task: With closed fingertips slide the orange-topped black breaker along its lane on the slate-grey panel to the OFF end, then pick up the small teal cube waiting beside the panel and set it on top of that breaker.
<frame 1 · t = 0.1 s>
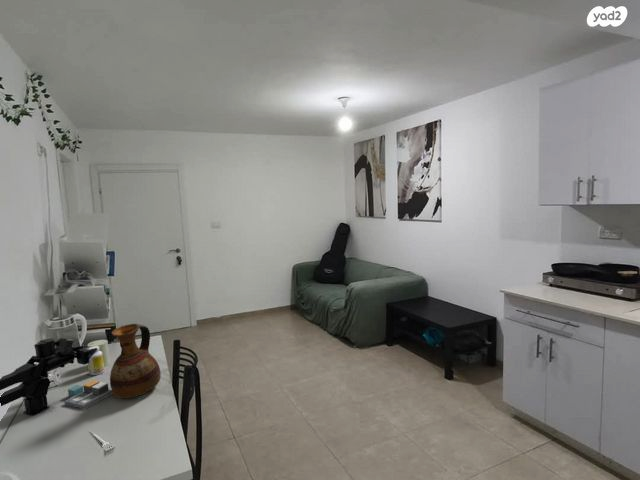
hand: (89, 347, 177), 17 cm above the table, tool horizontal, fingers open, 9 cm apart
breaker panel: (89, 398, 163), on the table
teal cube: (76, 395, 167), on the table
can: (100, 364, 200), on the table
supplement bottle: (96, 373, 189), on the table
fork: (100, 442, 133), on the table
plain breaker: (100, 388, 164), point 3 cm above the table, slide at 0.0 cm
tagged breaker: (91, 387, 166), point 4 cm above the table, slide at 0.0 cm
ceramic pitcher: (137, 390, 169), on the table
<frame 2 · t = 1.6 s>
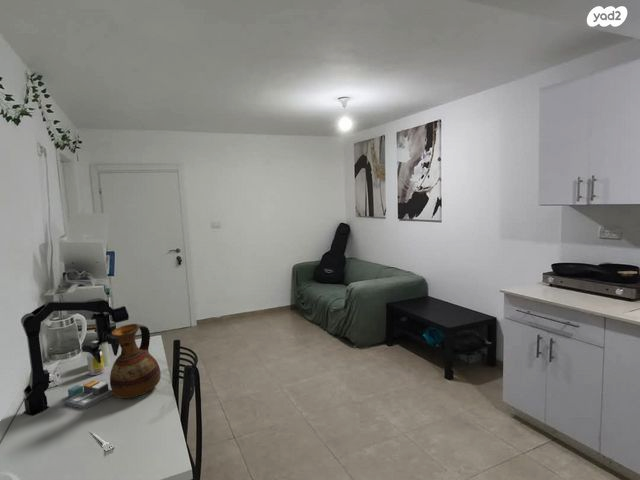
hand: (107, 359, 174), 12 cm above the table, tool pointing down, fingers open, 8 cm apart
nothing on the table moved.
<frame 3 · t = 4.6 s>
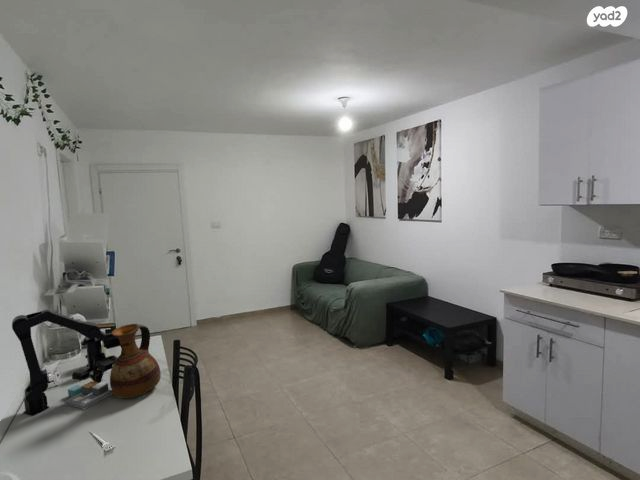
hand: (98, 385, 170), 2 cm above the table, tool pointing down, fingers closed
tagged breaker: (90, 387, 166), point 4 cm above the table, slide at 0.8 cm, touching gripper
everything else where it was.
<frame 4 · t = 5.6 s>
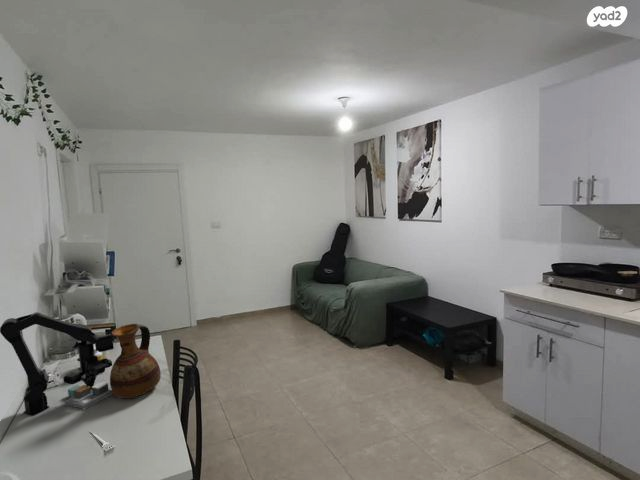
hand: (91, 389, 166), 3 cm above the table, tool pointing down, fingers closed
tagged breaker: (82, 391, 163), point 3 cm above the table, slide at 4.3 cm, touching gripper
everything else where it was.
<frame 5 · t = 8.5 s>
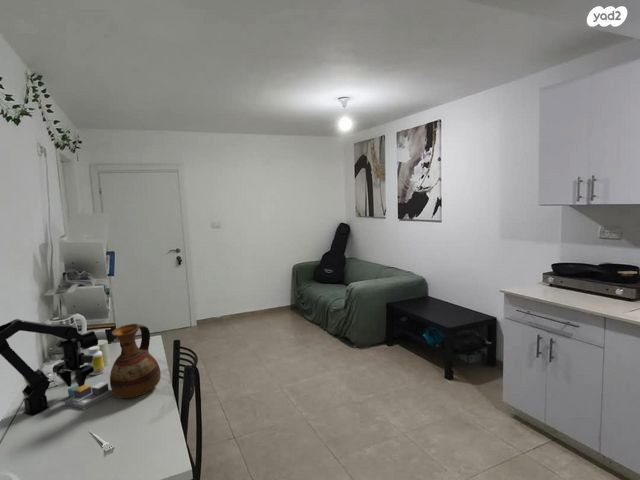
hand: (75, 387, 167), 3 cm above the table, tool pointing down, fingers open, 7 cm apart
nothing on the table moved.
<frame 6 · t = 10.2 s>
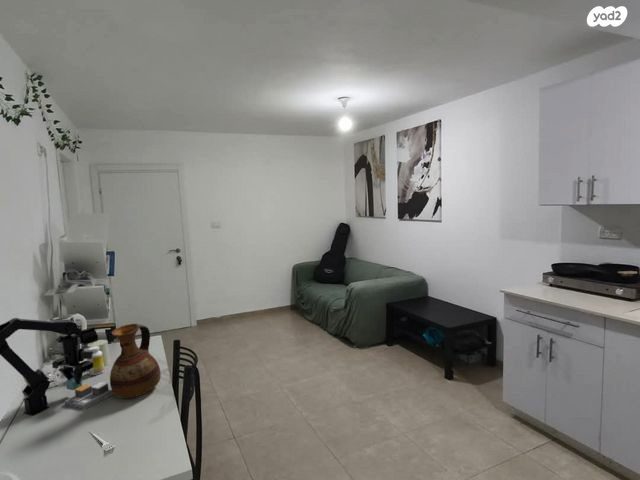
hand: (75, 383, 167), 5 cm above the table, tool pointing down, fingers closed on teal cube, 4 cm apart
teal cube: (74, 387, 166), point 4 cm above the table, touching gripper
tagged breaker: (83, 391, 163), point 3 cm above the table, slide at 3.8 cm
everything else where it was.
when the fingers open (7 cm above the table, at t = 12.0 s): teal cube stays where it is, resting on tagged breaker.
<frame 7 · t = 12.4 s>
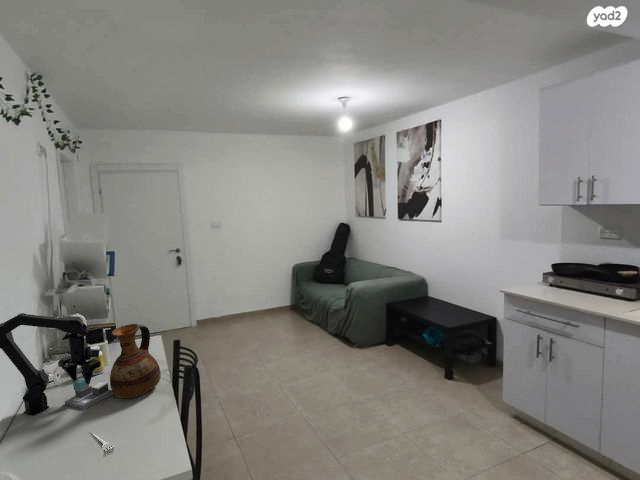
hand: (81, 382, 162), 7 cm above the table, tool pointing down, fingers open, 8 cm apart
teal cube: (81, 388, 162), point 5 cm above the table, touching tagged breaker
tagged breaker: (83, 391, 163), point 4 cm above the table, slide at 3.8 cm, touching teal cube
everything else where it was.
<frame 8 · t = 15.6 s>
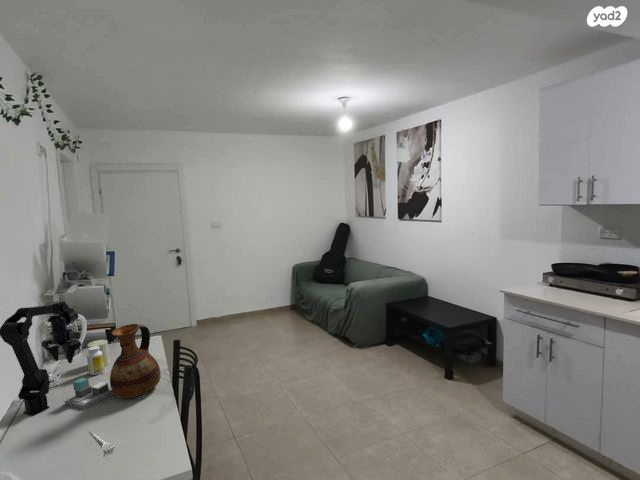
hand: (63, 361, 174), 12 cm above the table, tool pointing down, fingers open, 9 cm apart
nothing on the table moved.
at the end: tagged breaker slide at 3.8 cm; teal cube 0.7 cm from the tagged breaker (horizontally); teal cube point 5.2 cm above the table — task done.
